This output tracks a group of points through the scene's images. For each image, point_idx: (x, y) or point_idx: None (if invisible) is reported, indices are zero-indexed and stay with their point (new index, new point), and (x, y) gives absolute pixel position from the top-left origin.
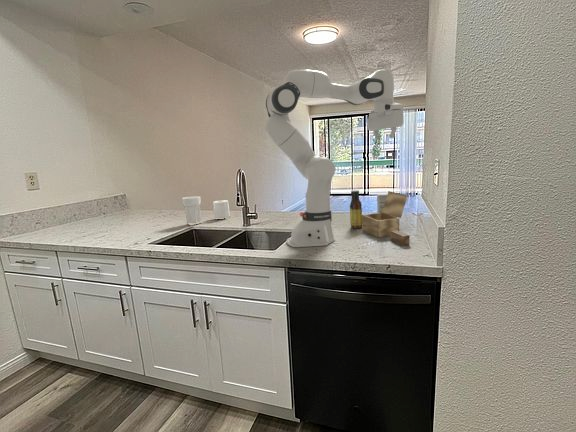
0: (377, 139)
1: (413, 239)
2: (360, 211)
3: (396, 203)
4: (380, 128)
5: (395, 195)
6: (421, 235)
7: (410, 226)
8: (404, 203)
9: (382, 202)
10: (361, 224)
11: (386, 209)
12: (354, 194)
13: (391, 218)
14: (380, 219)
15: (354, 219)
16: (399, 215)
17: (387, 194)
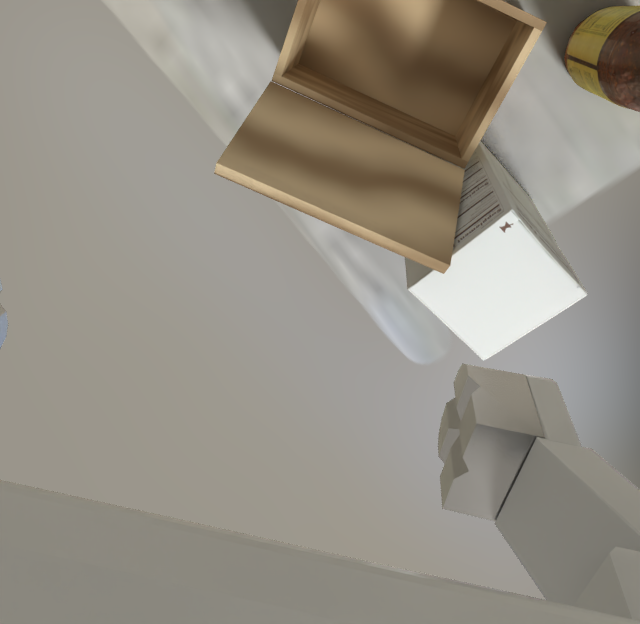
0: (479, 370)
1: (188, 38)
2: (591, 60)
3: (322, 157)
4: (165, 521)
5: (350, 206)
6: (214, 132)
7: (358, 252)
8: (237, 133)
9: (477, 203)
10: (567, 60)
11: (424, 167)
12: None
13: (349, 104)
14: (462, 139)
15: (611, 11)
16: (272, 90)
17: (456, 253)
